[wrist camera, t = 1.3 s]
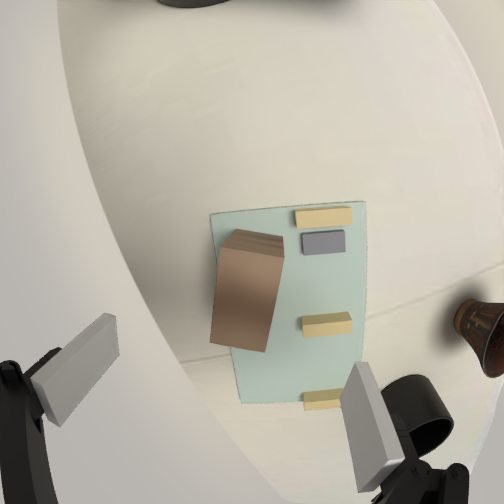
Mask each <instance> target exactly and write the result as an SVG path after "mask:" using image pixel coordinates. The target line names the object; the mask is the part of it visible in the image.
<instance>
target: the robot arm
mask: <svg viewBox="0 0 504 504" xmlns="http://www.w3.org/2000/svg"><path fill="white" fill-rule="evenodd" d="M159 1H160V2H162V3H164V4H167V5H170V6H175V7H201V6H208V5H213V4H217V3H221V2H224V1H227V0H159ZM118 356H119V347H118V337H117V326H116V316H114V315H111V314H107V313H104V314H102V315H101V316H100V317H99V318H98V319H96V321H94V322H93V323H92V324H91V325H89V326H88V327H87V328H86V329H85V330H83V332H81V333H80V334H79V335H78V336H76V337H75V338H74V339H73V340H72V341H71V342H70V343H68V344H67V345H66V346H65V347H64V348H63V349H62V348H59V347H57V348H55V349H53V350H50V351H49V352H48V353H47V354H46V355H44V357H42V358H41V359H40V360H39V361H38V362H37V363H35V364H34V365H33V366H32V367H31V368H30V369H28V370H27V371H26V372H25V373H24V374H23V373H22V371H21V368H20V365H19V364H18V363H17V362H15V361H12V360H8V361H3V362H1V363H0V470H1V479H2V488H3V495H4V500H5V504H58V501H57V497H56V494H55V490H54V486H53V482H52V477H51V472H50V468H49V462H48V457H47V451H46V444H45V437H44V428H43V420H42V417H41V416H42V414H43V413H44V412H45V414H46V416H47V419H48V420H49V421H50V422H52V423H54V424H55V425H57V426H59V427H61V426H62V424H63V423H64V422H65V421H66V419H67V418H68V417H69V416H70V414H71V413H72V412H73V411H74V409H75V408H76V407H77V406H78V404H79V403H80V402H81V401H82V399H83V398H84V397H85V396H86V395H87V393H88V392H89V391H90V390H91V388H92V387H93V386H94V385H95V384H96V382H97V381H98V380H99V379H100V378H101V376H102V375H103V374H104V373H105V372H106V370H107V369H108V368H109V367H110V366H111V364H112V363H113V362H114V361H115V360H116V358H117V357H118ZM339 399H340V404H341V408H342V413H343V417H344V422H345V427H346V431H347V436H348V441H349V446H350V451H351V456H352V462H353V467H354V473H355V478H356V484H357V490H358V493H361V492H370V491H374V490H375V489H376V488H377V487H378V486H379V485H380V487H381V492H380V493H379V494H378V495H377V496H376V497H375V498H373V499H372V500H371V502H373V503H372V504H468V495H469V471H468V469H467V467H466V466H464V465H463V464H460V463H454V464H452V465H450V466H449V467H448V468H447V469H446V470H443V469H432V468H431V466H430V465H429V464H428V463H427V462H425V461H423V460H420V459H419V457H418V455H417V452H416V450H415V447H414V445H413V442H412V440H411V437H409V436H410V435H409V432H408V430H407V427H406V425H405V422H404V421H403V419H402V418H401V417H400V416H399V415H398V414H389V413H388V410H387V407H386V405H385V402H384V400H383V397H382V395H381V392H380V390H379V387H378V385H377V383H376V380H375V378H374V375H373V373H372V371H371V368H370V366H369V364H368V362H357V361H355V363H354V365H353V368H352V370H351V373H350V375H349V377H348V380H347V382H346V384H345V386H344V389H343V391H342V393H341V395H340V397H339Z"/></svg>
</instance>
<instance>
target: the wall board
mask: <svg viewBox="0 0 504 504" xmlns="http://www.w3.org/2000/svg"><path fill="white" fill-rule="evenodd" d="M210 217H211V225H212V232H213V240H214V247H215V254H216V261H217V267H218V263H219V255H220V247H221V246H222V245H223V244H224V242H225V241H226V240H227V239H228V238H229V236H230V235H231V234H232V233H233V232H234V231H235V229H242V230H248V231H254V232H260V233H266V234H272V235H278V236H283V243H284V256H285V259H284V264H283V269H282V274H281V279H280V284H279V289H278V294H277V299H276V304H275V309H274V314H273V318H272V323H271V328H270V332H269V337H268V341H267V346H266V350H265V353H263V352H257V351H251V350H246V349H240V348H235V347H231V352H232V358H233V363H234V369H235V374H236V379H237V385H238V390H239V395H240V400H241V404H257V403H285V402H300V401H304V411H307V410H317V409H327V408H335V407H341V404H340V399H339V397H340V395H341V393H342V391H343V389H344V386H345V384H346V382H347V380H348V377H349V375H350V373H351V370H352V368H353V365H354V363H355V361H357V362H361V359H362V350H363V340H364V328H365V314H366V294H367V216H366V202H365V201H354V202H338V203H323V204H309V205H297V206H285V207H274V208H263V209H253V210H243V211H233V212H224V213H215V214H211V215H210Z"/></svg>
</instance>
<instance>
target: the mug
mask: <svg viewBox="0 0 504 504" xmlns="http://www.w3.org/2000/svg"><path fill="white" fill-rule="evenodd" d="M381 395H382V397H383V400H384V402H385V405H386V407H387V410H388V413H389V414H398V415H399V416H400V417H401V418H402V419H403V421H404V422H405V425H406V427H407V430H408V432H409V435H410V436H409V437H411V440H412V442H413V445H414V447H415V450H416V452H417V455H418V457H419V458H420V457H422V456H424V455H426V454H428V453H430V452H431V451H433V450H434V449H436V448H437V447H438V446H439V445H441V444H442V443H443V442H444V441H445V440H446V439H447V437H448V436H449V435H450V433H451V431H452V429H453V426H454V421H453V419H452V417H451V415H450V414H449V412H448V410H447V408H446V407H445V405H444V403H443V402H442V400H441V398H440V397H439V395H438V393H437V392H436V390H435V388H434V387H433V385H432V383H431V382H430V380H429V379H428V378H426V377H424V376H421V375H412V376H407V377H404V378H402V379H399V380H397V381H395V382H394V383H392V384H391V385H389V386H388V387H387V388H386V389H384V390H383V391H382V392H381Z"/></svg>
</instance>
